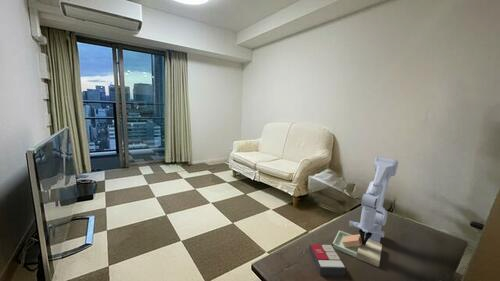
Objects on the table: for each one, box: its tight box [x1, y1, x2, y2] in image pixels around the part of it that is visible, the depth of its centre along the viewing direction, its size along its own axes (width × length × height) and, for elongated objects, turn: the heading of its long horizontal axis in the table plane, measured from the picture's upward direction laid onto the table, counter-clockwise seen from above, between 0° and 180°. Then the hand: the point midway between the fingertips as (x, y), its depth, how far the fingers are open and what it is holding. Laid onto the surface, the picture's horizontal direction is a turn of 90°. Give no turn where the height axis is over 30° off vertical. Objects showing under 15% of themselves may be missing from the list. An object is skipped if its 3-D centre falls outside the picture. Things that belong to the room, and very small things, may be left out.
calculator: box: [308, 244, 347, 277], centre depth 93 cm, size 11×4×15 cm
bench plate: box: [356, 240, 383, 268], centre depth 98 cm, size 14×9×3 cm, turn 144°
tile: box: [342, 233, 362, 247], centre depth 102 cm, size 6×8×2 cm
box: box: [331, 230, 359, 259], centre depth 104 cm, size 14×11×2 cm
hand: (363, 243), depth 100 cm, fingers closed
